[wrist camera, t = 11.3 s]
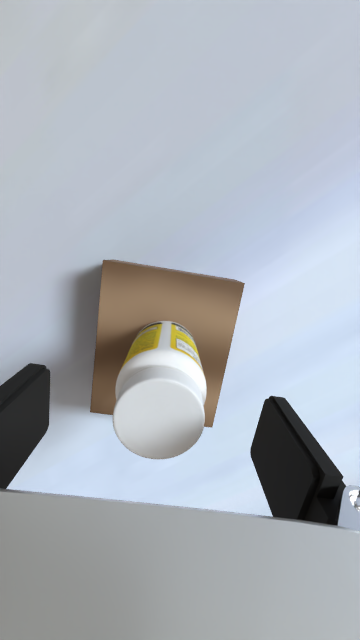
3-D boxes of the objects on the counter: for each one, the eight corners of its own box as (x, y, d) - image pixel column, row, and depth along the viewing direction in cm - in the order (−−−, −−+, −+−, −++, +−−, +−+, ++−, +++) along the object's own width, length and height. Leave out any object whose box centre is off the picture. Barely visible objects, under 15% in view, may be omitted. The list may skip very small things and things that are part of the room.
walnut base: (113, 259, 20) (102, 260, 17) (234, 279, 20) (244, 283, 18) (100, 392, 23) (90, 412, 20) (207, 406, 23) (212, 427, 20)
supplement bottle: (130, 375, 19) (98, 462, 11) (135, 316, 18) (103, 364, 10) (192, 381, 19) (205, 471, 11) (200, 323, 18) (222, 376, 10)
